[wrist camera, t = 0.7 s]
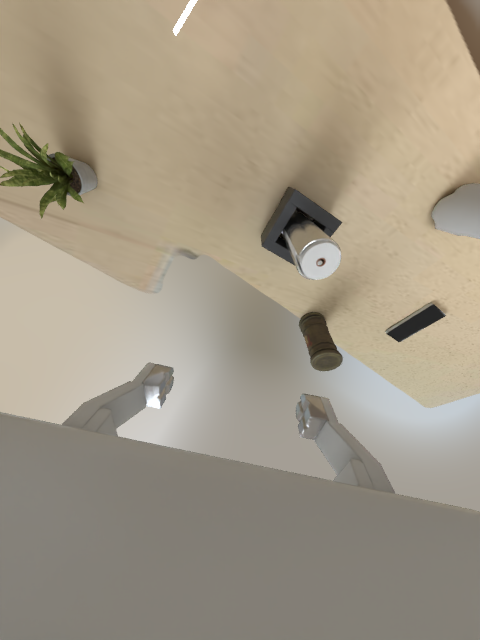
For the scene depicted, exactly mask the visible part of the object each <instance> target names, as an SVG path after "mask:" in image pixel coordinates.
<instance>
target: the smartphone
mask: <svg viewBox="0 0 480 640" xmlns="http://www.w3.org/2000/svg"><path fill="white" fill-rule="evenodd" d="M445 316H446V315H445V314H444V313H443V312H442V311H441V310H440V309H439V308H437V307H436V306H435V305H434V304H433V303H429V304H427V305H426V306H424V307H423V308H421V309H420V310H418V311H416V312H415V313H413V314H412V315H410V316H408V317H407V318H405V319H404V320H402V321H401V322H399V323H397V324H396V325H394V326H393V327H391V328H389V329H388V330H386V333H387V334H388V335H389V336H391V337H392V338H394V339H395V340H396V341H398V342H401V341H403V340H404V339H406V338H408V337H410V336H411V335H413V334H415V333H417V332H418V331H420V330H422V329H424V328H425V327H427V326H429V325H431V324H432V323H434V322H436V321H438V320H439V319H441V318H443V317H445Z"/></svg>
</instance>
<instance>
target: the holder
mask: <svg viewBox="0 0 480 640" xmlns="http://www.w3.org/2000/svg"><path fill="white" fill-rule="evenodd" d="M296 208H299V209H300V210H302V211H303V212H305V213H306V214H308V215H309V216H311V217H312V218H314V219H315V221H314V222H313V223H314V224H315V225H316V226H317V227H319V228H320V229H321V230H322V231H323V232H324V233H326V234H327V235H328V236H329V237H331V236H332V235H333V233H334V232H335V231H336V230H337V228H338V227H339V226H340V225H341V223H342V222H341V221H340V220H338V219H337V218H335V217H334V216H333V215H331V214H330V213H328V212H327V211H325V210H324V209H323V208H321V207H320V206H318V205H317V204H316V203H314V202H313V201H311V200H310V199H308V198H307V197H306V196H304V195H303V194H301V193H300V192H299V191H297V190H296V189H293V188H291V187H288V189H287V191H286V192H285V194H284V196H283V198H282V199H281V201H280V203H279V205H278V206H277V208H276V210H275V212H274V214H273V215H272V217H271V219H270V221H269V222H268V224H267V226H266V228H265V230H264V231H263V233H262V235H261V242H262V247H264V248H266V249H267V250H269V251H271V252H273V253H274V254H276V255H278V256H279V257H281V258H283V259H285V260H286V261H288V262H290V263H291V264H293V265H295V263H294V261H293V258H292V256H291V254H290V251H289V249H288V247H287V244H286V242H285V240H284V239H283V238H281V237H279V235H280V234H281V232H282V231H283V229H284V227H285V226H286V224H287V223H288V221H289V219H290V218H291V216H292V215H293V213H294V211H295V210H296ZM295 266H296V265H295Z"/></svg>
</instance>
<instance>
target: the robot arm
mask: <svg viewBox="0 0 480 640" xmlns="http://www.w3.org/2000/svg"><path fill="white" fill-rule="evenodd" d="M196 2H197V0H190V2H189V4H188V5H187V7H186V9H185V11H184V12H183V14H182V16H181V17H180V19H179V21H178V23H177V24H176V26H175V28H174V29H173V32H174V34H175V35H177V33H178V32H179V30H180V28H181V27H182V25H183V23H184V22H185V20H186V18H187V17H188V15H189V13H190V12H191V10H192V8H193V7H194V5H195V3H196ZM173 372H174V370H173V368H172V367H168V366H163V365H159V364H154V363H148V364H147V365H146V366H145V367H144V368H143V369H142V370H141V372H140V373H139V374H138V375H137V376H136V378H135V379H134V380H133V381H132V382H131V381H129V382H127V383H125V384H123V385H121V386H118V387H116V388H114V389H112V390H110V391H108V392H106V393H104V394H102V395H100V396H97V397H95V398H93V399H91V400H89V401H87V402H85V403H83V404H82V405H81V406H80V407H79V408H78V409H77V410H76V411H75V412H74V413H73V414H72V415H71V416H70V417H69V418H68V419H67V420H66V421H65V422H64V423H63V424H62V425H59V424H55V423H50V422H45V421H40V420H36V419H30V418H25V417H21V416H16V415H11V414H7V413H2V412H0V640H480V512H479V511H475V510H472V509H467V508H462V507H457V506H453V505H448V504H442V503H438V502H433V501H428V500H423V499H418V498H413V497H409V496H404V495H399V494H395V492H394V490H393V488H392V486H391V484H390V482H389V480H388V478H387V476H386V474H385V472H384V470H383V468H382V466H381V464H380V463H379V462H378V461H377V460H376V459H375V458H374V457H373V456H372V455H371V454H370V453H369V452H368V451H367V450H366V449H365V448H364V447H363V446H362V445H361V444H360V443H359V441H358V440H356V439H355V437H354V436H353V435H352V434H351V433H349V431H348V430H347V429H346V428H345V427H344V426H343V425H342V424H339V423H338V420H337V418H336V415H335V413H334V411H333V408H332V406H331V403H330V401H329V399H328V398H324V397H318V396H314V395H308V394H302V395H301V397H300V399H301V401H300V402H298V404H297V406H296V418H297V419H298V421H299V422H300V423H299V425H298V428H299V433H300V437H303V438H307V439H312V440H315V442H316V444H317V446H318V447H319V449H320V450H321V452H322V453H323V454H324V456H325V458H326V459H327V461H328V462H329V464H330V465H331V467H332V468H333V469H334V471H335V473H336V474H337V476H336V477H335V479H334V480H333V481H331V480H326V479H321V478H317V477H312V476H307V475H301V474H297V473H292V472H287V471H282V470H278V469H273V468H268V467H263V466H258V465H253V464H249V463H244V462H239V461H234V460H229V459H224V458H219V457H215V456H210V455H205V454H200V453H195V452H190V451H185V450H181V449H176V448H170V447H166V446H161V445H156V444H152V443H147V442H142V441H137V440H132V439H127V438H122V437H118V435H117V432H116V428H118V427H119V426H120V425H122V424H123V423H125V422H126V421H127V420H129V419H130V418H132V417H133V416H134V415H136V414H137V413H138V412H140V411H141V410H143V409H144V408H145V407H146V406H150V407H155V408H161V407H162V405H163V403H164V401H165V400H166V394H168V393H169V392H170V390H171V388H172V386H173V380H174V377H173V376H172V374H173Z"/></svg>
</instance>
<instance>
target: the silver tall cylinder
mask: <svg viewBox="0 0 480 640" xmlns="http://www.w3.org/2000/svg"><path fill="white" fill-rule="evenodd" d="M281 233H282V235H283V237H284V240H285V242H286V244H287V247H288V249H289V251H290V254H291V256H292V258H293V261H294V263H295V265H296V268H297V270H298V272H299V273H300V275H302V276H303V277H304V278H307V279H312V280H316V279H323V278H326V277H328V276H330V275H331V274H332V273H333V272H335V270H336V269H337V268H338V266H339V264H340V261H341V252H340V248H339V246H338V244H337V243H336V242H335V241H334V240H333V239H331V238H330V237H329V236H328V235H327V234H326V233H324V232H323V231H322V230H321V229H320V228H319V227H317V226H316V225H315V224H314V223H313V222H312V221H310V220H309V219H308V218H307V217H306V216H305V215H304V214H302V213H301V212H297V211H295V212H294V213H293V215H292V216H291V218H290V219H289V221H288V223H287V224H286V226H285V227H284V229H283V231H282V232H281Z"/></svg>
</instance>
